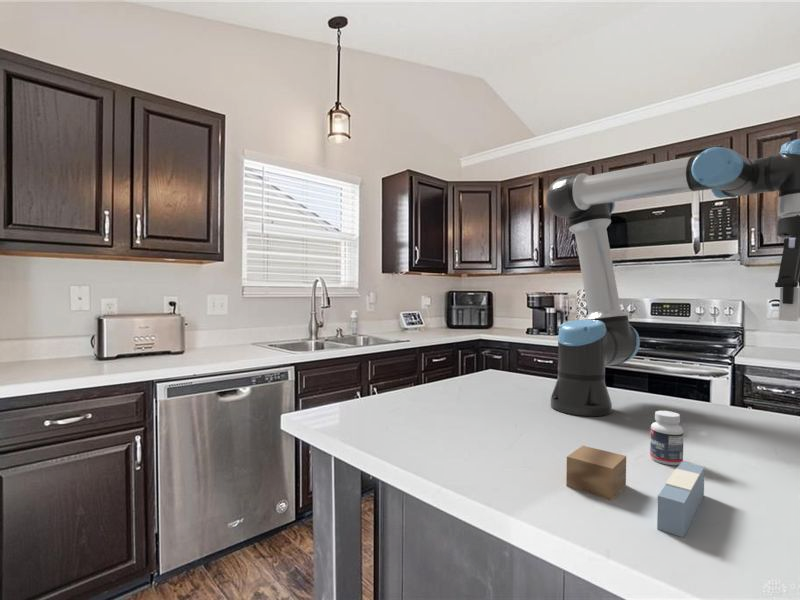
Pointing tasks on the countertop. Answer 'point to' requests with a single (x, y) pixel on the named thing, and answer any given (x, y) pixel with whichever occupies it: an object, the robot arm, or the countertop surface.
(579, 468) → the walnut block
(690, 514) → the blue and cream block
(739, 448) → the countertop surface
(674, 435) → the pill bottle
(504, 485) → the countertop surface
